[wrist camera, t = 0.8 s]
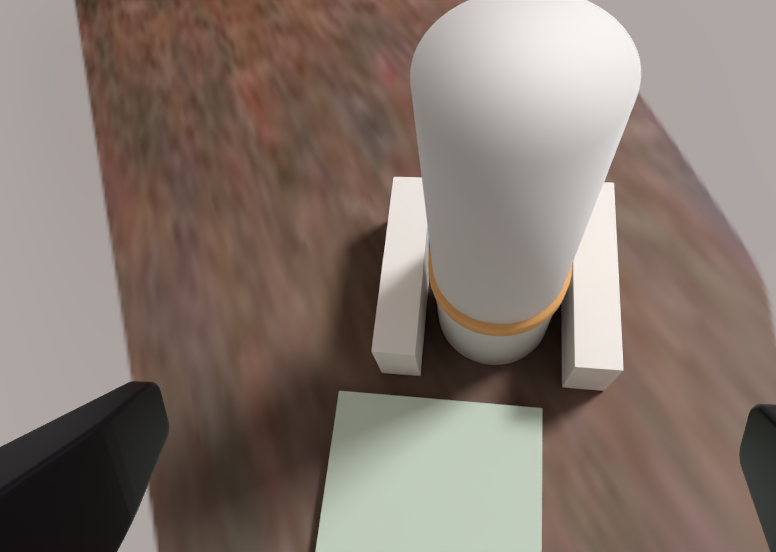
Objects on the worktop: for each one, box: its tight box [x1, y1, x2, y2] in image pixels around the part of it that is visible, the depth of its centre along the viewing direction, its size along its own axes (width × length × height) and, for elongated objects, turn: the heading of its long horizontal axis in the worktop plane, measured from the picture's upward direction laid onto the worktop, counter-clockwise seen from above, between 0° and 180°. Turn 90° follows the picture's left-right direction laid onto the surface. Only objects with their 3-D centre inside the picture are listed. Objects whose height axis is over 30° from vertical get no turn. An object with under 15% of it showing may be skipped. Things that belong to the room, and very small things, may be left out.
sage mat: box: [315, 391, 542, 552], centre depth 21 cm, size 8×8×1 cm
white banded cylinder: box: [410, 0, 641, 365], centre depth 18 cm, size 5×5×14 cm
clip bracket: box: [371, 177, 623, 391], centre depth 23 cm, size 8×9×3 cm
